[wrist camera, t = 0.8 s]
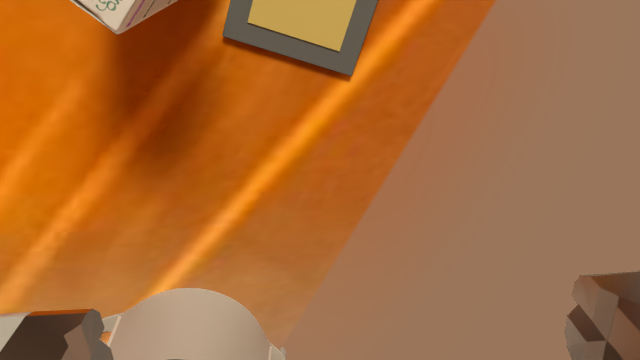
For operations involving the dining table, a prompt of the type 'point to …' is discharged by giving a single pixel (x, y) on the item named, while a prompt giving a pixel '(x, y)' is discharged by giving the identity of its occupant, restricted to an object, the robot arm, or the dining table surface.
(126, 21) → the syrup box
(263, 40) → the pad
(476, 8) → the dining table surface
